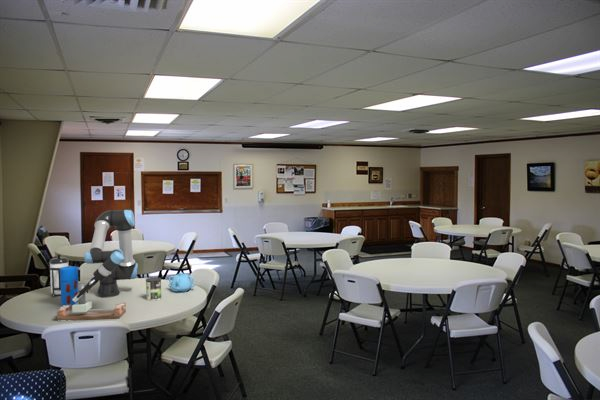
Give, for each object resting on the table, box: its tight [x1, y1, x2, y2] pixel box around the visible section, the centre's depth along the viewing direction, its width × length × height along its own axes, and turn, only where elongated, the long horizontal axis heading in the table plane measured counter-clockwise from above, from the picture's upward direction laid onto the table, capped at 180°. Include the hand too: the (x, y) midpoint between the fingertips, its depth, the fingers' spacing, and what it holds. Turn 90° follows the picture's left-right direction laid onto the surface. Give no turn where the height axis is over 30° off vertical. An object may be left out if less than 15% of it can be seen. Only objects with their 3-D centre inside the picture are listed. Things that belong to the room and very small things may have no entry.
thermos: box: [60, 265, 79, 306], centre depth 309 cm, size 11×11×25 cm
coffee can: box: [145, 277, 162, 302], centre depth 321 cm, size 10×10×14 cm
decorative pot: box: [167, 272, 195, 293], centre depth 344 cm, size 16×16×14 cm
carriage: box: [72, 283, 93, 313], centre depth 281 cm, size 10×8×16 cm
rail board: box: [56, 302, 127, 322], centre depth 282 cm, size 14×38×7 cm, turn 96°
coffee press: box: [48, 253, 70, 296], centre depth 334 cm, size 17×16×30 cm
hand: (75, 299), depth 281 cm, fingers closed on carriage, 4 cm apart
